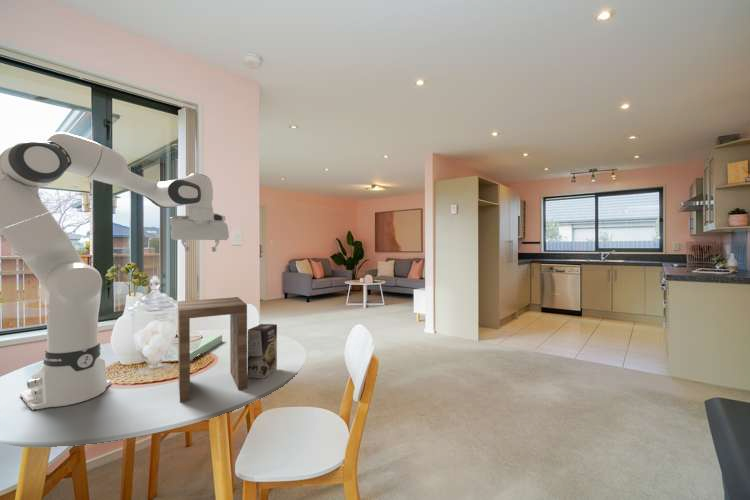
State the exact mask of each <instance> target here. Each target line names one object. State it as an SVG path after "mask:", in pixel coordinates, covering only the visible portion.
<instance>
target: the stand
mask: <svg viewBox="0 0 750 500" xmlns="http://www.w3.org/2000/svg"><path fill="white" fill-rule="evenodd" d="M177 315H178V316H177V323H178V324H177V325H178V326H177V329H178V333H177V335H178V336H177V337H178V338H177V340H178V342H177V343H178V348H177V349H178V350H177V352H178V354H177V356H178V358H177V359H178V361H177V362H178V363H177V364H178V391H179V392H178V393H179V403H183V402H188V401H191V364H190V363H191V362H190V347H191V346H190V345H191V344H190V342H191V339H190V337H191V336H190V335H191V334H190V333H191V331H190V330H191V329H190V322H191V321H190V319H195V318H196V319H199V318H205V317H216V316H218V317H219V316H225V315H226V316H230V317H229V321H230V322H229V325H230V327H229V331H230V332H229V333H230V334H229V335H230V337H229V338H230V339H229V340H230V341H229V342H230V344H229V345H230V347H229V348H230V351H229V353H230V354H229V355H230V375H231V377H232V379H233V381H234V384H235V386H236V388H237V391H241V390H246V389H248V377H247V371H248V304H247V303H245V301H244V300H242V299H241V298H240V297H238V296H235V297H234V296H233V297H223V298H221V297H220V298H209V299H208V298H207V299H193V300H191V299H190V300H182V301H181V300H180V301H179V300H178V301H177Z"/></svg>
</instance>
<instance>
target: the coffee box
mask: <svg viewBox="0 0 750 500" xmlns="http://www.w3.org/2000/svg"><path fill="white" fill-rule="evenodd" d="M277 338H278V324H275V323H274V324H273V323H271V324H270V323H260V324H258V325H256V326H253V327H251V328H249V329H247V378H251V379H253V378H254V379H255V378H256V379H260V380H261V379H266V378H267V377H268V376H269V375H271V374H272V373H273V372H274V371H276V370H277V369H278V358H277V357H278V353H277V352H278V349H277V348H278V343H277V342H278V339H277Z"/></svg>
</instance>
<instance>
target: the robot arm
mask: <svg viewBox="0 0 750 500" xmlns="http://www.w3.org/2000/svg"><path fill="white" fill-rule="evenodd" d="M65 172H68V173H74V174H76V175H79V176H82V177H85V178H87V179H91V180H93V181H96V182H101V183H102V184H103V183H104V184H107V185H113V186H117V187H119V188H122V189H124V190H127V191H129V192H132V193H134V194H136V195H137V194H138V195H140V196H142V197H144V198H146V199H147V200H149V201H150V202H151V203H152V204H153V205H155V206H156V207H159V208H161V209H169V208H174V207H181V206H187V215H176V214H175V215H174V216H171V217H170V218H169V226H170V227H171V230H170V238H171V239H172V240H173V241H178V240H180V241H181V244H182V246H183V247H184V252H186V253H189V252H190V246H189V247H188V246H187V245H186V241H214V243H215V244H214V246H212V247H211V252H212V253H215V252H217V247H218V246H219V244H220V241H227V240H228V239H229V237H230V235H229V233H230V232H229V228H228V224H227V223H226V222H225V221H226V216H224V215H222V214H219V213H216V212H214V206H213V200H214V190H213V189H214V187H213V184H212V183H213V182H212V180H211V178H210V177H209V176H207V175H205V174H202V173H196V172H195V173H194V172H192V173H190V174H189V175H187V176H185V177H180V178H177V179H170V180H165V181H155V180H152V179H151V180H150V179H149V178H145V177H143V176H141V175H139V174H137V173H134V172H133V171H131V170H129V169H128V164H127V160H126V158H125V157H124V156H123V155H122V154H120V153H119V152H117V151H115V150H113V149H112V148H110V147H107V146H105V145H103V144H101V143H98V142H96V141H93V140H90V139H87V138H85V137H82V136H78V135H74V134H71V133H67V132H63V131H57V132H54V133H52V134H50V135H49V136H47V138H46V139H45V141H41V140H40V141H36V140H35V141H33V140H31V141H30V140H29V141H23V142H20V143H17V144H15V145H14V146H11V147H9V148H7V149H5V150H4V151H3V152H1V154H0V234H1V236H2V237H3V238H4V239H5V240H6V241H7V243H8V244H9V245H10V247H11V248H12V249H13V250H14V252H15V253H17V254H18V255H17V256H19V257H20V259H21V260H22V261H23V262H24V264H25V265H26V266H27V267H28V268H29V270H30V271H31V272H32V274H33V275H34V276H35V278H37V280H38V281H39V282H40V283H41V284H42V286H43V287H44V288H45V290H46V292H48V293H49V296H48V298H49V299H48V300H49V301H48V302H49V303H48V315H47V322H46V335H47V336H46V340H47V342H46V343H47V344H46V346H47V349H46V350H45V351H44V352H45V354H44V356H43V363H42V365H41V366H40V367H39V369H37V371H35V372H34V373H33V374H32V376H31V379H28V380H27V381H26V387H27V389H26V390H23V391H21V392H20V395H19V397H20V396H21V397H22V398H23V399H22V398H21V397H20V398H21V399H22V401H23V402H24V401H25V402H26V403H27V404H26V403H25V402H24V403H25V404H26V406H28V408H29V407H30V408H31V409H32V411H35V410H34V409H36V410H41V409H45V408H46V409H47V408H54V407H55V408H56V407H63V406H71V405H74V404H79V403H82V402H84V401H88V400H91V399H94V398H95V397H98V396H99V395H101V394H103V393H104V392H105V391H106V389H107V387H109V386H110V385H111V384H112V380H111V379H108V378H107V369H106V362H105V361H106V360H105V359H104V358H102V357H100V356H101V343H99V311H100V306H101V299H102V298H101V297H102V287H103V278H102V275H101V273H100V271H98V269H97V268H95V267H93V266H92V265H90V264H88V263H85V262H84V260H83V259H82V257H81V255H80V254H79V253H78V250H76V248H75V246H74V245H73V243H72V241H71V239H70V237H69V236H68V234H67V233H66V232H65V230H64V229H63V227H62V226H61V225H60V224H59V222H58V221H57V220H56V219H55V217H54V215H52V213H51V212H50V211H49V209H48V208H47V207H46V206H45V204H44V203H43V201H42V200H41V198H40V194H39V190H40V188H41V187H42V188H43V187H45V186H47V185H50V184H51V183H53V182H55V181H56V180H59V178H61V177H62V175H64V174H65ZM30 408H29V409H30ZM31 409H30V410H31Z"/></svg>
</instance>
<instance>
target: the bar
mask: <svg viewBox="0 0 750 500" xmlns="http://www.w3.org/2000/svg"><path fill="white" fill-rule="evenodd" d="M201 341H202V342H201ZM201 341H200V342H201V344H200V346H199V348H197V349H195V350H193V351H190V363H191V362H192V361H194V360H195V359H196V358H195V357H196V356H197V355H198V354H202V353H203V354H205V353H206V352H208V351H210V350H211V349H212V348H214V347H216V346H217V345H219V344H221V343H222V342H223V334H212V335H210V336H208V337H207V338H204V339H202V340H201ZM204 352H205V353H204ZM203 354H202V355H203ZM194 358H195V359H194ZM193 359H194V360H193Z"/></svg>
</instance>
